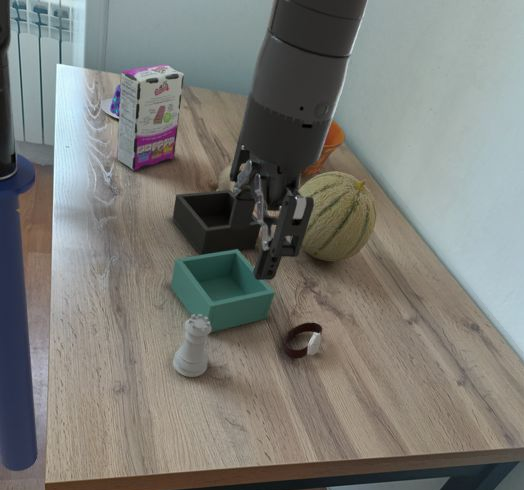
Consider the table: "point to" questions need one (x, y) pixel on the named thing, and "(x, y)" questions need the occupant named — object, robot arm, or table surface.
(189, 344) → the rook chess piece
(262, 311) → the sea-green bin
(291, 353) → the watch
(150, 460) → the table surface
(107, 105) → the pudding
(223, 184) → the decorative ornament
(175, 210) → the charcoal bin
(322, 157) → the bowl
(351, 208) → the cantaloupe
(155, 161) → the candy bar box
